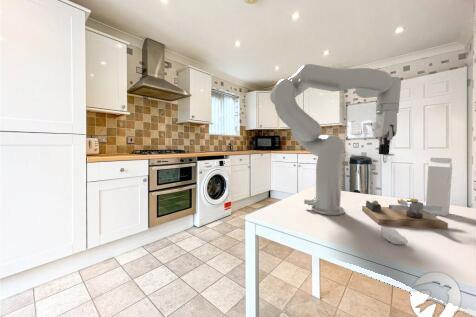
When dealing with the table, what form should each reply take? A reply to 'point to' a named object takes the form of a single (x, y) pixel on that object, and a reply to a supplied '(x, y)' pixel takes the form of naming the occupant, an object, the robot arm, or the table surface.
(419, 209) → the capstan
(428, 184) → the milk
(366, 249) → the table surface
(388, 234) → the dumpling
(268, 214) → the table surface
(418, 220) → the stand
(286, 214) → the table surface
